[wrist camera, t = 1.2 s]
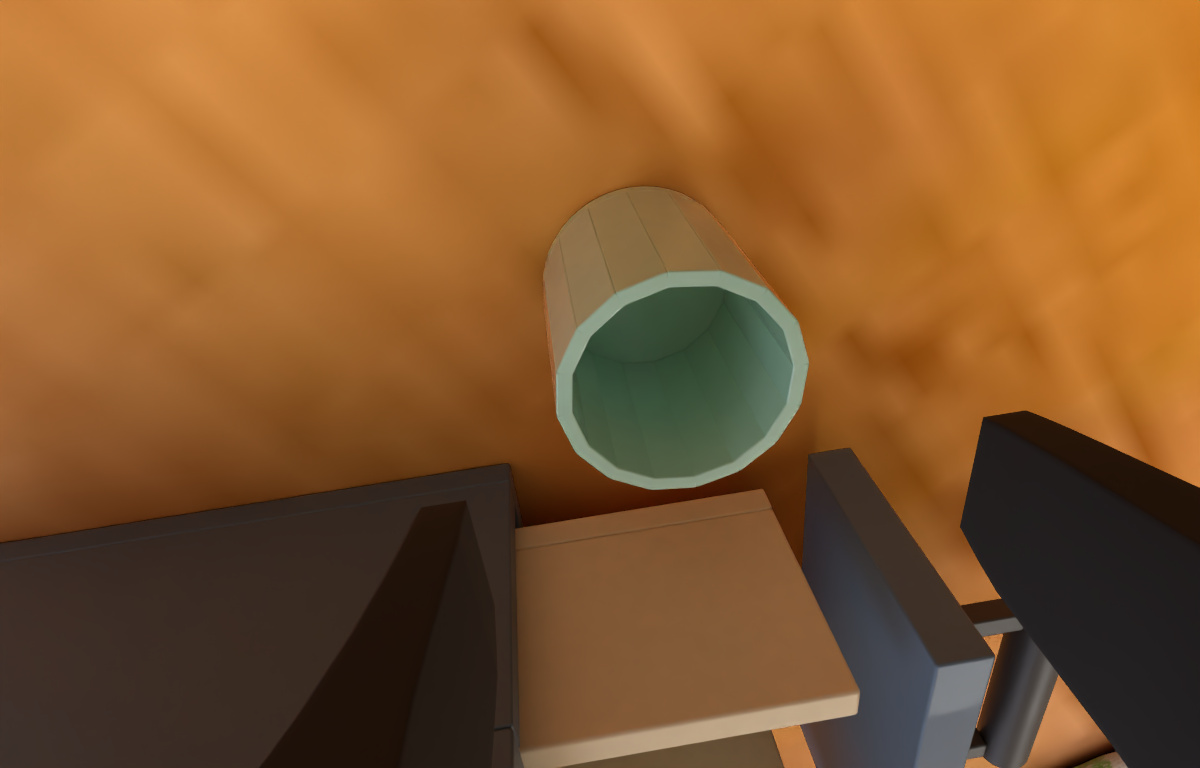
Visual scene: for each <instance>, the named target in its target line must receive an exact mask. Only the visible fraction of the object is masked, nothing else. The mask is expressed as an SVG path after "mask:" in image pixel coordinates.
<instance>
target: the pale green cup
mask: <svg viewBox="0 0 1200 768" xmlns="http://www.w3.org/2000/svg"><path fill="white" fill-rule="evenodd" d="M543 293H544V313H545V322H546V331H547V339H548V348H549V357H550V365H551V374H552V383H553V391H554V400H555V409H556V415H557V419H558V420H559V422H560V424H561V426H562V428H563V430H564V432H565V434H566V436H567V438H568V440H569V442H570V444H571V445H572V447H573V449H574V451H575V452H576V453H577V454H578V455H579V456H580V457H581V458H583V459H584V460H585V461H587V462H588V463H589V464H591V465H592V466H593V467H595V468H596V469H597V470H599V471H600V472H601V473H603V474H604V475H605V476H606V477H608V478H610V479H613V480H616V481H620V482H624V483H627V484H631V485H634V486H638V487H642V488H645V489H649V490H661V489H678V488H695V487H699V486H702V485H704V484H707V483H710V482H712V481H715V480H718V479H720V478H723V477H726V476H728V475H731V474H734V473H736V472H738V471H739V470H742V469H743V468H745V467H746V466H747V465H748V464H750V463H751V462H752V461H754V460H755V459H756V458H757V457H759V456H760V455H761V454H763V453H764V452H765V451H766V450H768V449H769V448H770V447H772V446H773V445H774V444H775V443H776V442H777V441H778V440H779V438H780V436H781V435H782V433H783V432H784V430H785V429H786V427H787V426H788V424H789V423H790V421H791V420H792V418H793V417H794V415H795V414H796V412H797V411H798V409H799V408H800V405H801V403H802V397H803V392H804V387H805V382H806V377H807V372H808V367H809V359H808V355H807V351H806V347H805V344H804V340H803V336H802V332H801V329H800V325H799V322H798V321H797V319H796V317H795V316H794V315H793V314H792V312H791V311H790V310H789V308H788V307H787V306H786V305H785V303H784V302H783V301H782V300H781V298H780V297H779V296H778V295H777V293H776V292H775V291H774V290H773V288H772V287H771V286H770V285H769V283H768V282H767V281H766V280H765V278H764V277H763V276H762V275H761V273H760V272H759V271H758V270H757V268H756V267H755V266H754V265H753V263H752V262H751V261H750V260H749V258H748V257H747V256H746V255H745V253H744V252H743V251H742V250H741V248H740V247H739V246H738V245H737V243H736V242H735V241H734V239H733V238H732V237H731V236H730V234H729V233H728V232H727V231H726V230H725V229H724V228H723V227H722V225H721V224H720V223H719V222H718V221H717V220H716V219H715V217H714V216H713V215H712V214H711V213H710V212H709V211H708V210H707V209H706V208H705V207H704V206H703V205H701V204H700V203H698V202H697V201H695V200H694V199H692V198H690V197H688V196H686V195H684V194H682V193H679V192H676V191H674V190H671V189H666V188H661V187H651V186H640V187H629V188H625V189H620V190H616V191H613V192H610V193H607V194H605V195H603V196H601V197H599V198H597V199H595V200H593V201H591V202H590V203H588V204H587V205H585V206H584V207H582V208H581V209H580V210H579V211H577V212H576V213H575V214H574V215H573V216H572V217H571V218H570V219H569V220H568V221H567V222H566V223H565V225H564V226H563V227H562V228H561V230H560V231H559V233H558V234H557V236H556V237H555V239H554V241H553V243H552V245H551V247H550V249H549V252H548V255H547V258H546V261H545V267H544V272H543Z"/></svg>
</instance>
